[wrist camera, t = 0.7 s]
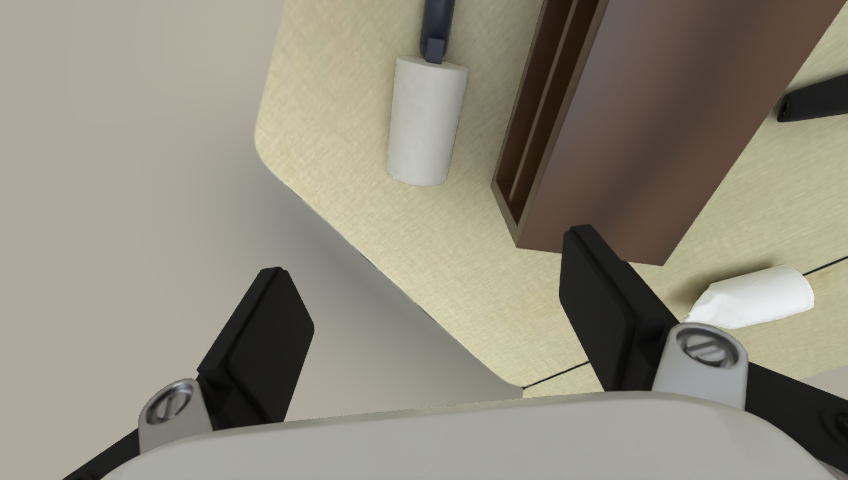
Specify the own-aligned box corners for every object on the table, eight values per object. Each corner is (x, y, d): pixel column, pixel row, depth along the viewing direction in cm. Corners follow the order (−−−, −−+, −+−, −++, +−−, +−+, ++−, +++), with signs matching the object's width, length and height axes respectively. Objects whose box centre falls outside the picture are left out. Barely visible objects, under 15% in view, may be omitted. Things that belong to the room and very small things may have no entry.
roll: (667, 282, 42) (698, 316, 37) (776, 255, 39) (824, 287, 35) (665, 314, 45) (694, 349, 40) (766, 290, 43) (809, 324, 38)
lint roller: (442, 165, 33) (450, 189, 28) (386, 158, 32) (384, 182, 28) (483, -44, 24) (504, -58, 20) (407, -61, 24) (410, -80, 19)
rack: (490, 186, 34) (516, 248, 25) (554, -37, 24) (635, -71, 15) (599, 202, 35) (663, 266, 26) (703, -6, 26) (862, -20, 16)
